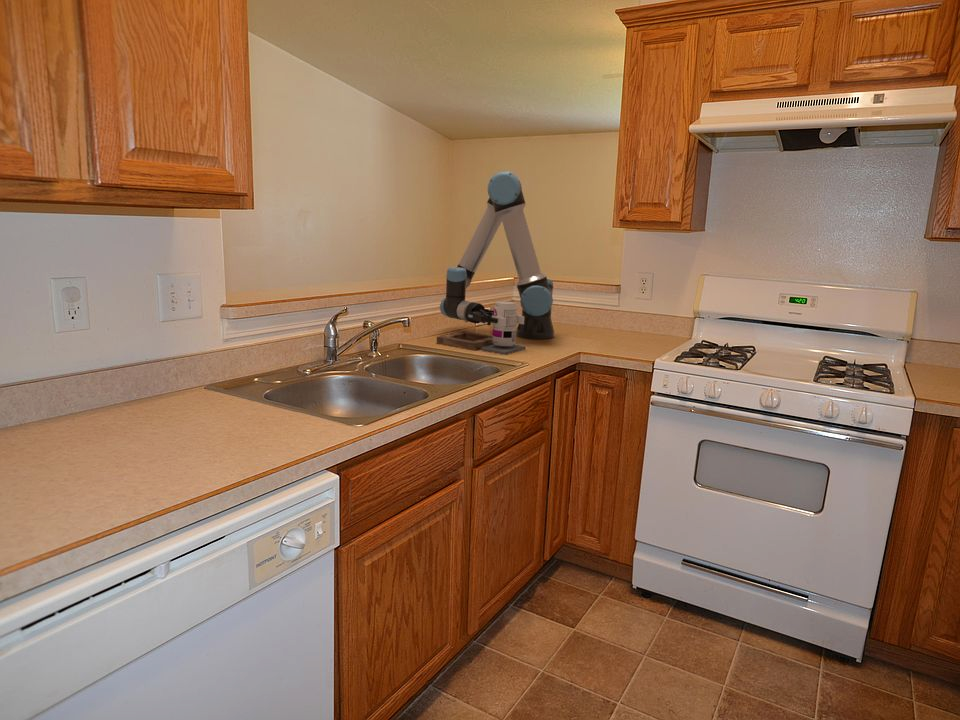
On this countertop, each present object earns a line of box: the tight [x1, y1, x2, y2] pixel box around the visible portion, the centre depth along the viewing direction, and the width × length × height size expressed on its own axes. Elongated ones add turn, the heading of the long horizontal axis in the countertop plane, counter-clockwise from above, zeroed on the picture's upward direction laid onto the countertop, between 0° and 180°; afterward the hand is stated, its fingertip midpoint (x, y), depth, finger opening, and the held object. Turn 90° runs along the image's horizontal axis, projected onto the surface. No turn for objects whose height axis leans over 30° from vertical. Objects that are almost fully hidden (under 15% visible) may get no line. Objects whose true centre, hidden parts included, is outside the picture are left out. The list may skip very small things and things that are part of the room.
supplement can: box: [491, 300, 518, 346], centre depth 223 cm, size 8×8×15 cm
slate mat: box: [480, 343, 526, 356], centre depth 225 cm, size 14×10×1 cm
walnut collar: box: [436, 330, 494, 351], centre depth 233 cm, size 17×17×2 cm
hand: (514, 321), depth 219 cm, fingers closed on supplement can, 8 cm apart
